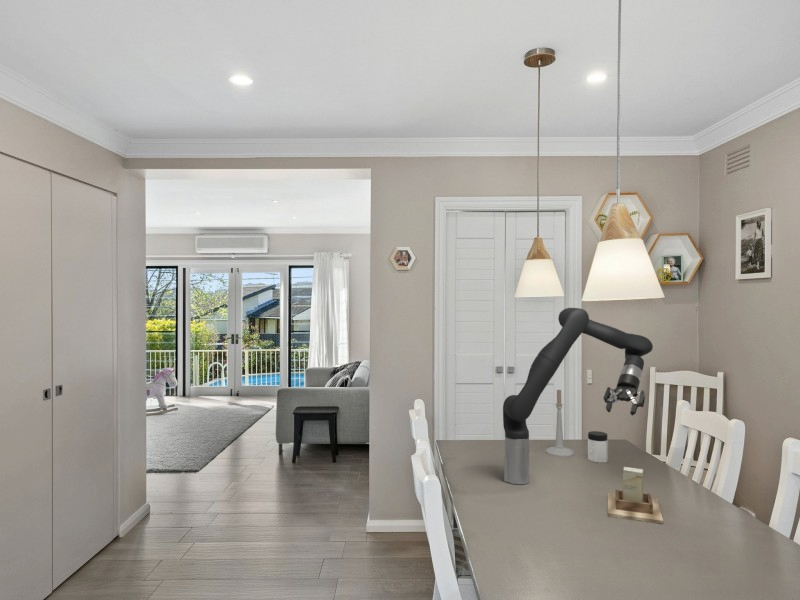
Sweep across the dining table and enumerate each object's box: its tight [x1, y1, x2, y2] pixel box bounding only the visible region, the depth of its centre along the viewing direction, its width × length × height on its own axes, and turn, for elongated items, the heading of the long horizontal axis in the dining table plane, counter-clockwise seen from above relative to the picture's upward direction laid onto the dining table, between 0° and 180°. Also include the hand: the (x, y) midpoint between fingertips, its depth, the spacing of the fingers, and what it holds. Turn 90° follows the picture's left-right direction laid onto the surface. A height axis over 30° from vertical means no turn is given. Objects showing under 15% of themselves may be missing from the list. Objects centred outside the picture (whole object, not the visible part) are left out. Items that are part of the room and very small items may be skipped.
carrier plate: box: [607, 489, 664, 524], centre depth 171 cm, size 16×20×4 cm
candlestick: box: [545, 389, 575, 457], centre depth 240 cm, size 13×13×30 cm
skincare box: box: [622, 466, 644, 503], centre depth 171 cm, size 6×4×12 cm
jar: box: [587, 430, 609, 464], centre depth 228 cm, size 9×8×12 cm
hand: (619, 412), depth 190 cm, fingers open, 8 cm apart
